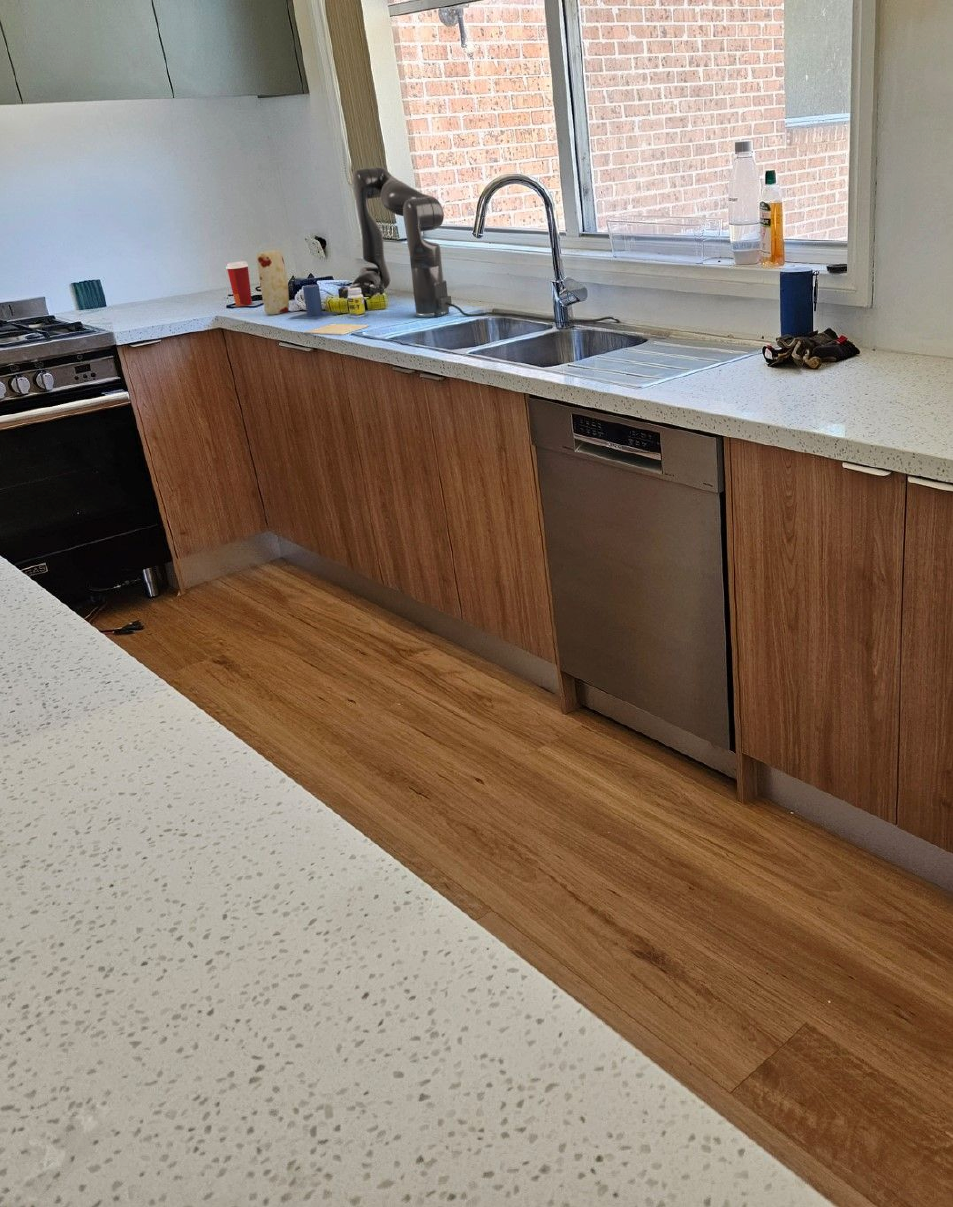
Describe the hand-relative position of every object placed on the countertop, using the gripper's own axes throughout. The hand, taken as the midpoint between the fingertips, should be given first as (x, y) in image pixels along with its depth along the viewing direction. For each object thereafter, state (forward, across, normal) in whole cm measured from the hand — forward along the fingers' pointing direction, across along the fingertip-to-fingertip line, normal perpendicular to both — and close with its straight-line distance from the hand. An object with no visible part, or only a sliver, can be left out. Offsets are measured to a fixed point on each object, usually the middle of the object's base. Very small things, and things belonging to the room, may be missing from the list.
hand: (357, 294), depth 334 cm
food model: (-11, -29, +6) cm, 32 cm away
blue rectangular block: (-2, -15, +6) cm, 16 cm away
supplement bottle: (+4, 0, +6) cm, 7 cm away
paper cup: (-36, -48, +6) cm, 60 cm away
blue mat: (-2, -15, +6) cm, 16 cm away
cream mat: (+23, -3, +6) cm, 24 cm away
